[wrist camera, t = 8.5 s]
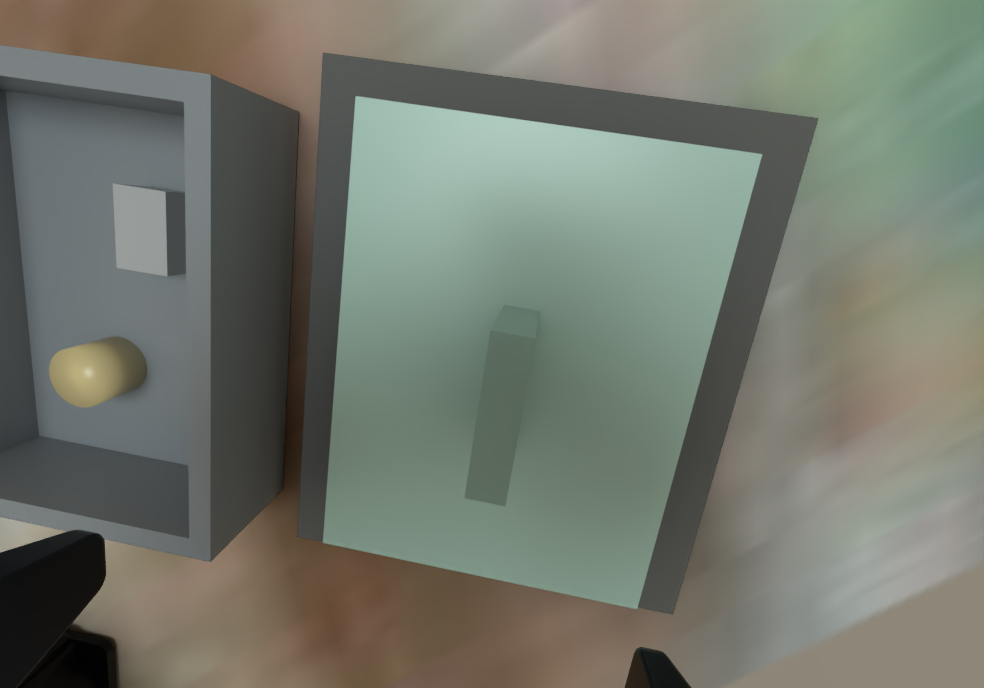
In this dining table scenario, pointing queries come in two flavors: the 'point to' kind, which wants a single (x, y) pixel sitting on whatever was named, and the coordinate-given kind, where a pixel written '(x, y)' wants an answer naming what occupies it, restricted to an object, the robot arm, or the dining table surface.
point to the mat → (581, 108)
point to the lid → (522, 341)
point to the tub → (142, 299)
